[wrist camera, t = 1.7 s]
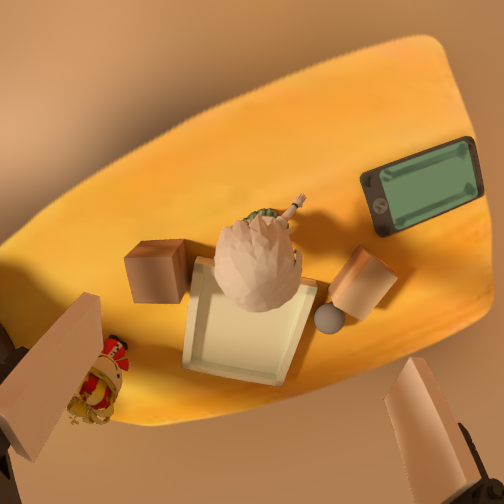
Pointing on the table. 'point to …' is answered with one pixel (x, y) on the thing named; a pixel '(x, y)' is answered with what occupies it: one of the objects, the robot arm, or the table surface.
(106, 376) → the toy
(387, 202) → the smartphone
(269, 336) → the tray
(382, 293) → the maple block
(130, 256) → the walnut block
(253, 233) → the figurine
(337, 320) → the grey ball
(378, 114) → the table surface
